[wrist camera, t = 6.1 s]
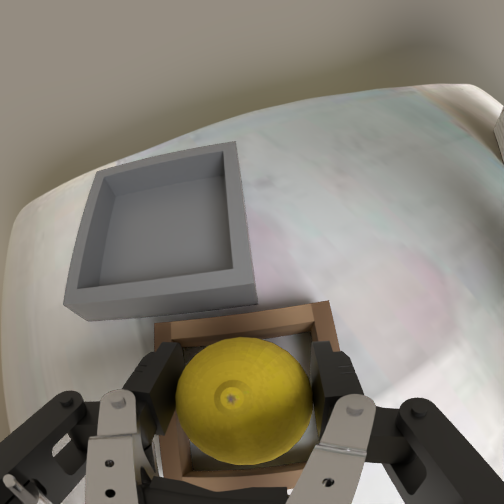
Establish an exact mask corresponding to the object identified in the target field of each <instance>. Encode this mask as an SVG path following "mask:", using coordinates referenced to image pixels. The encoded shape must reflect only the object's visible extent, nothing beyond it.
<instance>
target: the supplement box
mask: <svg viewBox="0 0 504 504" xmlns="http://www.w3.org/2000/svg"><path fill="white" fill-rule="evenodd" d="M494 133H495V136H496V139H497V142H498V145H499V148H500V152H501V155H502V158H503V162H504V107H503V109H502V112H501V114H500V117H499V119H498V121H497V124H496V126H495V128H494Z"/></svg>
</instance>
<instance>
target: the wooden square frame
mask: <svg viewBox="0 0 504 504" xmlns="http://www.w3.org/2000/svg"><path fill="white" fill-rule="evenodd" d="M310 331H311V337H312V342H316V341H330V344H331V347H332V350H333V352H337V351H340V348H339V343H338V339H337V334H336V330H335V325H334V321H333V316H332V312H331V308H330V303H329V300H328V301H322V302H316V303H310V304H304V305H298V306H292V307H286V308H279V309H272V310H265V311H258V312H251V313H244V314H236V315H228V316H220V317H211V318H203V319H193V320H183V321H173V322H162V323H154V352H156V351H157V349H158V347H159V346H160V344H161V343H162V342H178V343H180V345H181V348H182V353H183V348H184V347H197V346H207V345H212V344H214V343H217V342H219V341H221V340H224V339H231V338H237V337H247V338H258V339H266V338H273V337H280V336H286V335H293V334H299V333H305V332H310ZM159 442H160V451H161V460H162V468H163V476H164V478H168V479H174V480H180V481H185V482H188V483H190V484H193V485H196V486H199V487H202V488H205V489H208V490H211V491H216V492H220V491H229V490H236V489H243V488H249V487H287V489H293V488H294V487H295V485H296V483H297V481H298V479H299V478H300V476H301V474H302V472H303V470H304V468H305V466H306V464H307V461H306V462H301V463H294V464H288V465H281V466H273V467H264V468H254V469H240V470H217V471H193V466H192V459H191V450H190V441H189V438H188V436H187V435H186V433H185V432H184V430H183V429H182V427H181V425H180V422H179V419H178V416H177V413H176V409H175V411H174V414H173V416H172V419H171V421H170V424H169V426H168V429H167V431H166V434H165V436H163V435H159Z"/></svg>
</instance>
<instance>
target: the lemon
mask: <svg viewBox="0 0 504 504" xmlns="http://www.w3.org/2000/svg"><path fill="white" fill-rule="evenodd" d="M175 401H176V413H177V416H178V419H179V422H180V425H181V427H182V429H183V430H184V432H185V433H186V435H187V436H188V438H189V439H190V441H191V442H192V443H193V444H194V445H196V446H197V447H198V448H199V449H200V450H201V451H202V452H204V453H205V454H207V455H209V456H211V457H213V458H215V459H217V460H219V461H222V462H226V463H231V464H235V465H256V464H260V463H264V462H267V461H271V460H274V459H275V458H277V457H279V456H281V455H282V454H284V453H286V452H288V451H289V450H290V449H291V448H292V447H293V446H294V445H295V444H296V443H297V442H298V441H299V440H300V439H301V437H302V435H303V434H304V432H305V430H306V429H307V427H308V425H309V422H310V418H311V415H312V411H313V392H312V389H311V385H310V382H309V378H308V376H307V374H306V373H305V371H304V369H303V368H302V366H301V365H300V363H299V362H298V361H297V360H296V359H295V358H294V357H293V356H292V355H291V354H290V353H289V352H287V351H286V350H284V349H282V348H281V347H279V346H277V345H276V344H274V343H271V342H268V341H265V340H261V339H258V338H247V337H237V338H231V339H224V340H221V341H219V342H217V343H214V344H212V345H209V346H207V347H206V348H205V349H203V350H202V351H200V352H199V353H198V354H196V355H195V356H194V357H193V358H192V360H191V361H190V362H189V363H188V364H187V365H186V367H185V368H184V370H183V372H182V374H181V376H180V378H179V380H178V385H177V390H176V395H175Z"/></svg>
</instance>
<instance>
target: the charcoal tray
mask: <svg viewBox="0 0 504 504" xmlns="http://www.w3.org/2000/svg"><path fill="white" fill-rule="evenodd" d="M257 304H258V300H257V293H256V285H255V278H254V270H253V263H252V256H251V248H250V241H249V233H248V226H247V218H246V211H245V204H244V196H243V189H242V181H241V174H240V167H239V160H238V154H237V148H236V141H234V142H228V143H221V144H215V145H209V146H204V147H198V148H193V149H188V150H183V151H178V152H173V153H168V154H164V155H159V156H155V157H150V158H146V159H142V160H138V161H134V162H130V163H126V164H122V165H119V166H115V167H111V168H108V169H104V170H101V171H98V172H97V173H96V175H95V178H94V181H93V184H92V187H91V190H90V193H89V196H88V199H87V203H86V206H85V209H84V212H83V216H82V219H81V223H80V227H79V230H78V234H77V238H76V242H75V246H74V250H73V255H72V259H71V264H70V269H69V274H68V279H67V284H66V290H65V296H64V302H63V305H64V306H66V307H67V308H68V309H70V310H71V311H73V312H74V313H76V314H77V315H79V316H80V317H82V318H83V319H85V320H87V321H101V320H116V319H129V318H142V317H153V316H164V315H174V314H184V313H193V312H202V311H210V310H219V309H227V308H235V307H242V306H250V305H257Z"/></svg>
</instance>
